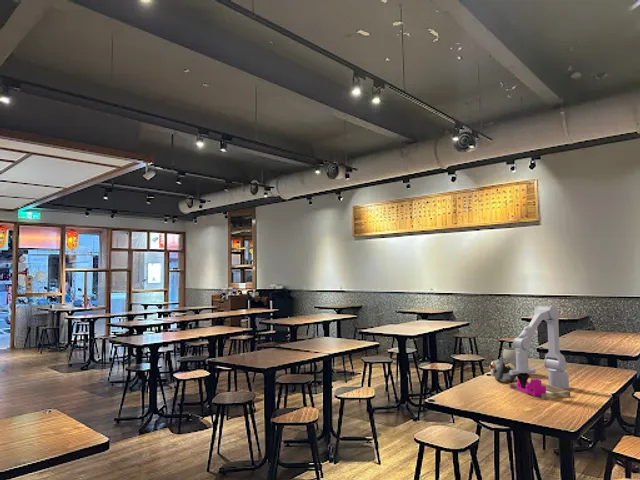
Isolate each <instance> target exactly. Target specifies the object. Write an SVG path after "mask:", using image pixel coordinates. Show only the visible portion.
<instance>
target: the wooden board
mask: <svg viewBox="0 0 640 480" xmlns="http://www.w3.org/2000/svg"><path fill="white" fill-rule="evenodd" d="M528 383H529V384H530V383H531V380H530V381H528ZM508 385H509V389H511V390H515V391H517V392H521V393H523V394H526V395H530V396H532V397H536V398H538V399H542V400H549V399H550V400H551V399H558V398H567V397H571V391H570V390H566V389H560V388H557V387H553V386H550V385H549V384H547V383H543V382H541V385H543V386H546V393H544V394H541V395H542V396H534V395H531V394H529V393H527V392H524V391H522V390H519V389H517V382H513V383H508Z"/></svg>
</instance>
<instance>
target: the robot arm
mask: <svg viewBox="0 0 640 480" xmlns="http://www.w3.org/2000/svg"><path fill="white" fill-rule="evenodd" d="M533 313H534V315H533V317H532V319H531V320H530V322H529V324H528V325H527V326H524V327H523V329H522V330H521V332H520V334H519V335H518V336H517V337H515V338H514V339H513V342H512V346H513V348H515V352H516V369H515V370H509V373H510V375H514V374H516V378H517V377H518V379H519V382H520V385H521V388H523V389H525V387H526V383H527V381H528V380H529V378H530V374H536V369H535V368H529V351H528V350H529V348H531V343H532V339H533V337H534V336H535V334H536V331H535V330H536V329H537V327H539V325H540V324H541V323H542V321H545V323H546V324H547V343H548V344H547V346H548V347H547V349H548V352H547V353H545V354H544V359H543V365H544V367H545V368H546V371H547V375H548V385H550V386H553V387H557V388H560V389H564V390H566V389H571V387H570V382H569V379H570V378H569V374H568V372H567V371H566V369H567V362H566V357H565V356H564V355H563V354H562V353H561V351H560V349H561V348H560V331H559V330H560V329H559V327H560V325H559V319H560V318H559V309H557V307H556V306H554V305H552V306H549V305H536V307H535V309H534V310H533Z"/></svg>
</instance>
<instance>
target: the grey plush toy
mask: <svg viewBox="0 0 640 480" xmlns="http://www.w3.org/2000/svg"><path fill="white" fill-rule="evenodd" d="M488 366H489V372H490V374H491V375H492V377H494V379H495V380H497V381H500V382H502V383H506V384H509V383H516V382H517V376H516V374H514V375H510V373H509V370H514V367H513V366H510V365H506V364H505V362H504V361H502V360H500V359H493V358H491V361H490V364H489V365H488Z"/></svg>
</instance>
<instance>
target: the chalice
mask: <svg viewBox="0 0 640 480" xmlns="http://www.w3.org/2000/svg"><path fill="white" fill-rule="evenodd" d="M502 351H503V352H502V358H503V359H504V361H506V362H508V364H511V366H512V367H513V369H514V370H515V369H516V352H515V348H514V347H505V348H504V349H503V350H502Z"/></svg>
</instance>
